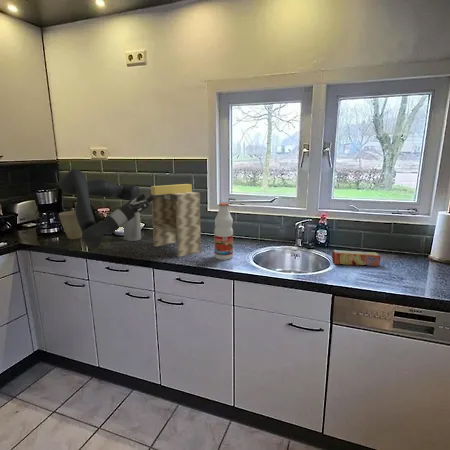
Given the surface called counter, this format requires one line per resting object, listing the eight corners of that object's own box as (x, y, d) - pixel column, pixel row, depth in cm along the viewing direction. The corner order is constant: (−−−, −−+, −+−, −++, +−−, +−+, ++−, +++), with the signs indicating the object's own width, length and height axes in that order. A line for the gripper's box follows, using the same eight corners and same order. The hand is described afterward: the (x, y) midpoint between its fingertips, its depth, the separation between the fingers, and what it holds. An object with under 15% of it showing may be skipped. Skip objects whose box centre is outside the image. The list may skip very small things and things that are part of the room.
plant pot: (82, 233, 208) (80, 209, 204) (91, 238, 197) (89, 213, 194) (58, 237, 198) (55, 212, 195) (65, 242, 187) (63, 216, 184)
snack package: (375, 263, 156) (377, 250, 154) (380, 268, 149) (381, 254, 148) (331, 261, 159) (332, 248, 157) (333, 265, 152) (334, 252, 151)
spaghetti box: (187, 191, 171) (187, 183, 170) (191, 191, 168) (191, 184, 168) (151, 194, 157) (150, 186, 156) (155, 195, 154) (154, 186, 153)
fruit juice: (232, 254, 167) (232, 202, 161) (233, 260, 158) (234, 204, 152) (214, 254, 167) (214, 201, 161) (214, 260, 158) (214, 204, 152)
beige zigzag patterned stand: (174, 241, 191) (172, 188, 184) (200, 251, 172) (200, 192, 165) (151, 246, 181) (149, 190, 174) (177, 257, 162) (175, 195, 155)
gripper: (124, 211, 139) (152, 191, 147) (111, 207, 150) (137, 188, 157) (132, 224, 143) (159, 204, 151) (119, 220, 154) (145, 201, 161)
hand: (148, 196), depth 154 cm, fingers open, 8 cm apart
